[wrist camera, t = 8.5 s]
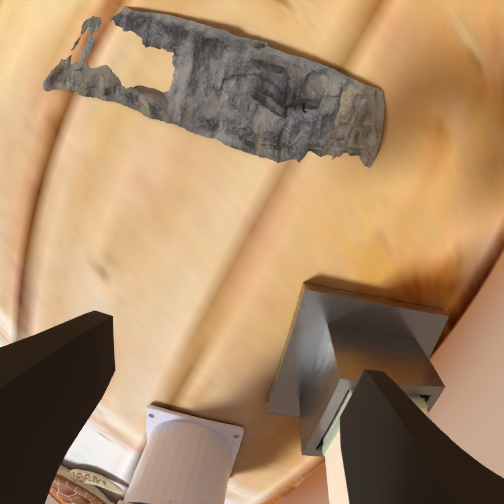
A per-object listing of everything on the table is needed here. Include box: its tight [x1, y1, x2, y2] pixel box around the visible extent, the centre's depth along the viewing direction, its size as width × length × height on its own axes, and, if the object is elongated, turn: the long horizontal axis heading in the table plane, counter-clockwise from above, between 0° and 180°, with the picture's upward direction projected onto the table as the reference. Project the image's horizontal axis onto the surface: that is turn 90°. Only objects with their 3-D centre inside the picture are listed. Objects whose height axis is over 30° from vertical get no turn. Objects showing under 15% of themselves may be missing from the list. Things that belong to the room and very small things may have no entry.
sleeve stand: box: [266, 282, 449, 457], centre depth 17 cm, size 10×10×6 cm
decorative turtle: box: [51, 465, 124, 504], centre depth 28 cm, size 18×17×5 cm
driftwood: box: [43, 6, 385, 168], centre depth 15 cm, size 21×7×2 cm, turn 66°
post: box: [322, 390, 432, 504], centre depth 12 cm, size 4×4×8 cm
